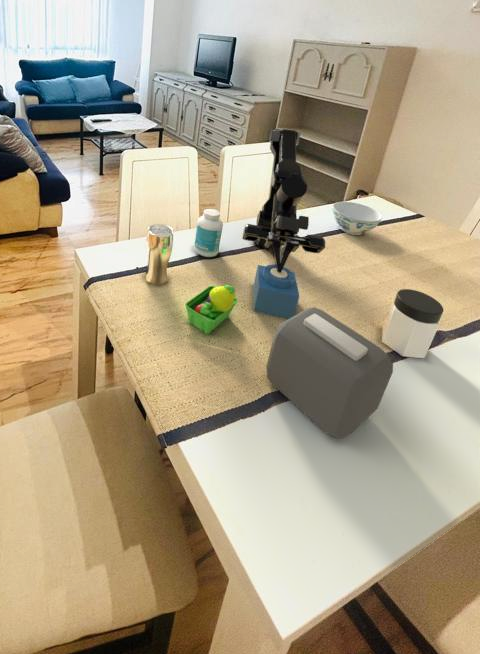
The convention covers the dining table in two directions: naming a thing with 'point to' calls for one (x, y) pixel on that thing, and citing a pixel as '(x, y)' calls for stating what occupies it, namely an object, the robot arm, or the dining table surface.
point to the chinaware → (355, 217)
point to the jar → (412, 323)
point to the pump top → (278, 273)
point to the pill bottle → (208, 233)
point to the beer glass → (158, 253)
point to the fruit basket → (211, 307)
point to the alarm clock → (328, 370)
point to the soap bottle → (275, 292)
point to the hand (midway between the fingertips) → (279, 271)
